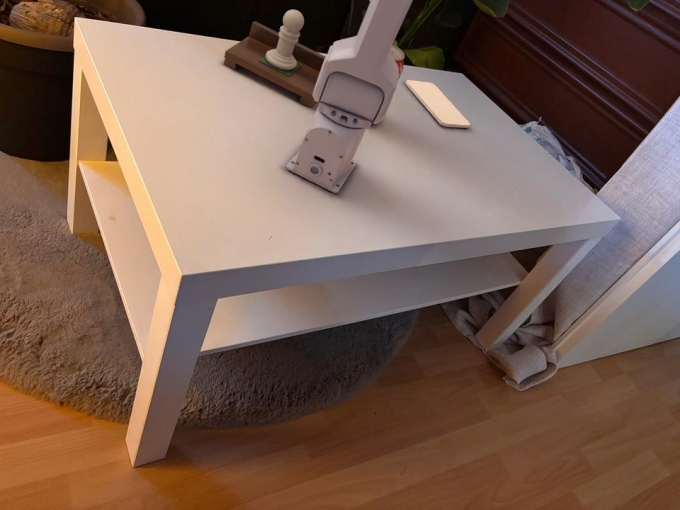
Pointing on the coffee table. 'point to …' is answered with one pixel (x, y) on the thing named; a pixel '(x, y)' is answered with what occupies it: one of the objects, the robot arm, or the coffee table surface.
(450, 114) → the smartphone
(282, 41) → the chess piece
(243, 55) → the shelf
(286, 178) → the coffee table surface
